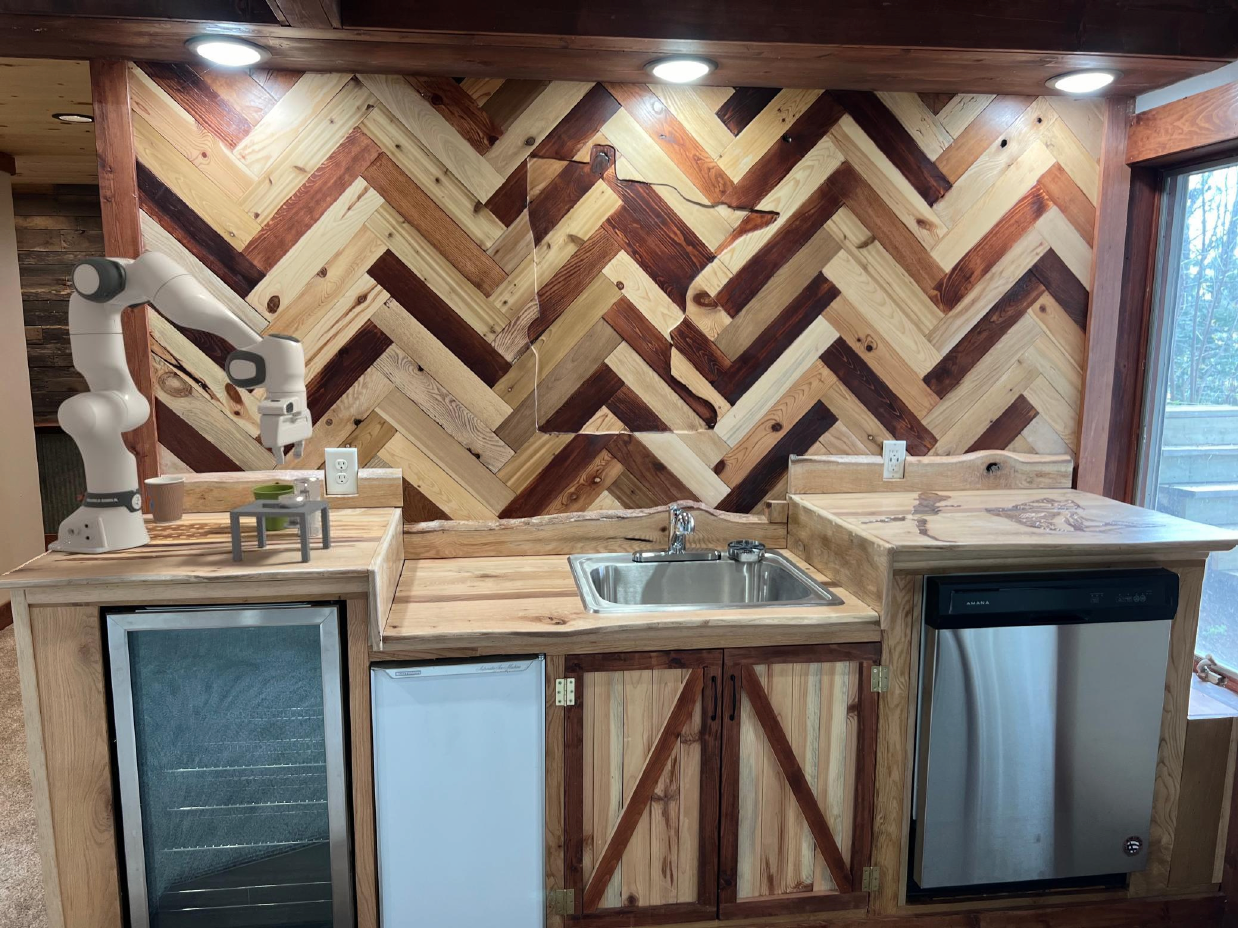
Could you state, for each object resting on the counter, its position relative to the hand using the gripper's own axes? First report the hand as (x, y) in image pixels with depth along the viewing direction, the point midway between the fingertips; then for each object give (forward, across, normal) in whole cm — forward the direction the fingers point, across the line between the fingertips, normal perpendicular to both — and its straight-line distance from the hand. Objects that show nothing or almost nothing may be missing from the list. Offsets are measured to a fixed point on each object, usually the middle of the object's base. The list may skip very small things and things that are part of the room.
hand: (289, 461), depth 202 cm
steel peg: (+16, 0, 0) cm, 16 cm away
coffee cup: (+24, -34, -52) cm, 66 cm away
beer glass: (+23, -20, -5) cm, 31 cm away
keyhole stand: (+23, 0, -3) cm, 23 cm away
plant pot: (+23, -27, -17) cm, 39 cm away
